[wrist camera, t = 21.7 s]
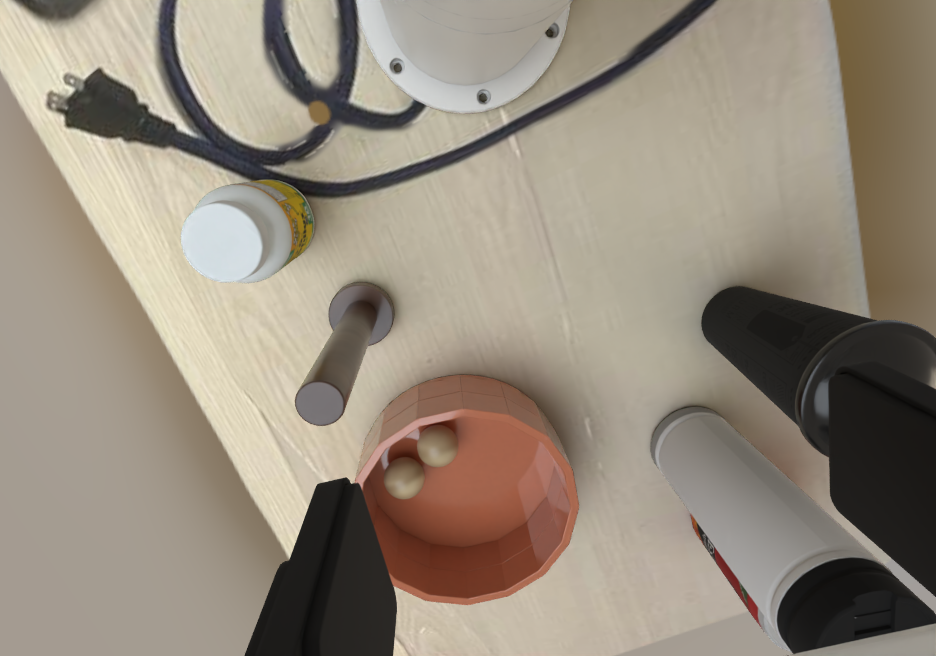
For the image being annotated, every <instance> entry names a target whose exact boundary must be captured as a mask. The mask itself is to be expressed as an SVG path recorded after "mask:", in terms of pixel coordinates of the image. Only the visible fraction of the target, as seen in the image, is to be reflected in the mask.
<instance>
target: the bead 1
mask: <svg viewBox="0 0 936 656" xmlns="http://www.w3.org/2000/svg"><path fill="white" fill-rule="evenodd" d="M424 481H425V474H424V470H423V468H422V466H421V465H420V464H419V463H418V462H417V461H416V460H414V459H412V458H409V457H401V458H397V459H395V460H394V461H392V462H391V463H390V464H389V465H388V467H387V468H386V470H385V473H384V485H385V487H386V489H387V491H388V492H389V493H390V494H391V495H392V496H393V497H395V498H398V499H410V498H412V497H414V496H416V495H417V494H418V493H419V492H420V491H421V489H422V487H423V485H424Z"/></svg>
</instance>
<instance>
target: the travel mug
mask: <svg viewBox="0 0 936 656" xmlns="http://www.w3.org/2000/svg"><path fill="white" fill-rule="evenodd" d="M651 455H652V458H653V461H654V463H655V464H656V466H657V467H658V468H659V470H660V471H661V473H662V474H663V475H664V477H665V478H666V480H667V481H668V482H669V484H670V485H671V487H672V488H673V489H674V491H675V492H676V494H677V495H678V496H679V498H680V499H681V501H682V502H683V503H684V505H685V506H686V508H687V509H688V510H689V512H690V513H691V514H692V516H693V517H694V519H695V520H696V521H697V523H698V524H699V526H700V527H701V528H702V530H703V531H704V533H705V534H706V535H707V537H708V538H709V540H710V541H711V542H712V544H713V545H714V547H715V548H716V549H717V551H718V552H719V554H720V555H721V556H722V558H723V559H724V560H725V562H726V563H727V565H728V566H729V567H730V569H731V570H732V572H733V573H734V574H735V576H736V577H737V579H738V580H739V581H740V583H741V584H742V586H743V587H744V588H745V590H746V591H747V593H748V594H749V595H750V597H751V598H752V600H753V601H754V602H755V604H756V605H757V606H758V608H759V609H760V611H761V612H762V613H763V615H764V616H765V618H766V619H767V620H768V622H769V623H770V625H771V626H772V627H773V628H774V630H775V631H776V633H777V634H778V636H779V637H780V638H781V640H782V641H783V642H784V644H785V645H787V646H788V648H789V649H790V650H791V651H792V653H793V654H796V653H801V652H805V651H810V650H815V649H819V648H824V647H828V646H833V645H838V644H842V643H847V642H851V641H856V640H861V639H865V638H870V637H874V636H879V635H884V634H889V633H893V632H898V631H903V630H907V629H912V628H917V627H922V626H926V625H931V624H936V614H935V613H934V611H933V610H931V609H930V608H929V607H928V606H927V605H926V604H925V603H924V602H923V601H921V600H920V599H919V598H918V597H917V596H916V595H915V594H914V593H913V592H912V591H910V589H908V588H907V587H906V586H905V585H904V584H903V583H902V582H900V581H899V579H897V578H896V577H895V576H894V575H893V574H892V572H891V571H890V570H889V569H888V568H887V567H886V566H885V565H884V564H883V563H881V562H880V561H879V560H878V559H877V558H876V557H875V556H874V555H873V554H872V553H871V552H869V551H868V550H867V549H866V548H865V547H864V546H863V545H862V544H861V543H860V542H858V541H857V540H856V539H855V538H854V537H853V536H852V535H851V534H850V533H849V532H847V531H846V530H845V529H844V528H843V527H842V526H841V525H840V524H839V523H838V522H836V521H835V520H834V519H833V518H832V517H831V516H830V515H829V514H828V513H827V512H825V511H824V510H823V509H822V508H821V507H820V506H819V505H818V504H817V503H816V502H814V501H813V500H812V499H811V498H810V497H809V496H808V495H807V494H806V493H805V492H803V491H802V490H801V489H800V488H799V487H798V486H797V485H796V484H795V483H793V482H792V481H791V480H790V479H789V478H788V477H787V476H786V475H785V474H784V473H782V472H781V471H780V470H779V469H778V468H777V467H776V466H775V465H774V464H773V463H771V462H770V461H769V460H768V459H767V458H766V457H765V456H764V455H763V454H762V453H760V452H759V451H758V450H757V449H756V448H755V447H754V446H753V445H752V444H751V443H749V442H748V441H747V440H746V439H745V438H744V437H743V436H742V435H741V434H740V433H738V432H737V431H736V430H735V429H734V428H733V427H732V426H731V425H730V424H729V423H727V422H726V421H725V420H724V419H723V418H722V417H721V416H720V415H719V414H717V413H716V412H714V411H712V410H710V409H707V408H704V407H688V408H684V409H681V410H678V411H676V412H674V413H672V414H671V415H669V416H668V417H666V418H665V419H664V420H663V421H662V422H661V423H660V424H659V426H658V427H657V429H656V430H655V432H654V435H653V437H652V441H651Z"/></svg>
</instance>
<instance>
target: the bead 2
mask: <svg viewBox="0 0 936 656" xmlns="http://www.w3.org/2000/svg"><path fill="white" fill-rule="evenodd" d="M458 446H459V445H458V439H457V437H456V435H455V433H454V432H453V431H452V430H451V429H450V428H448V427H446V426H443V425H433V426H430V427H428V428H426V429H425V430H424V431H423V432H422V433H421V435H420V436H419V438H418V442H417V451H418V454H419V456H420V458H421V460H422V461H423V462H424V463H426V464H427V465H429V466H432V467H443V466H446V465H448V464H449V463H451V462H452V461H453V460H454V458H455V457H456V455H457V452H458Z"/></svg>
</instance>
